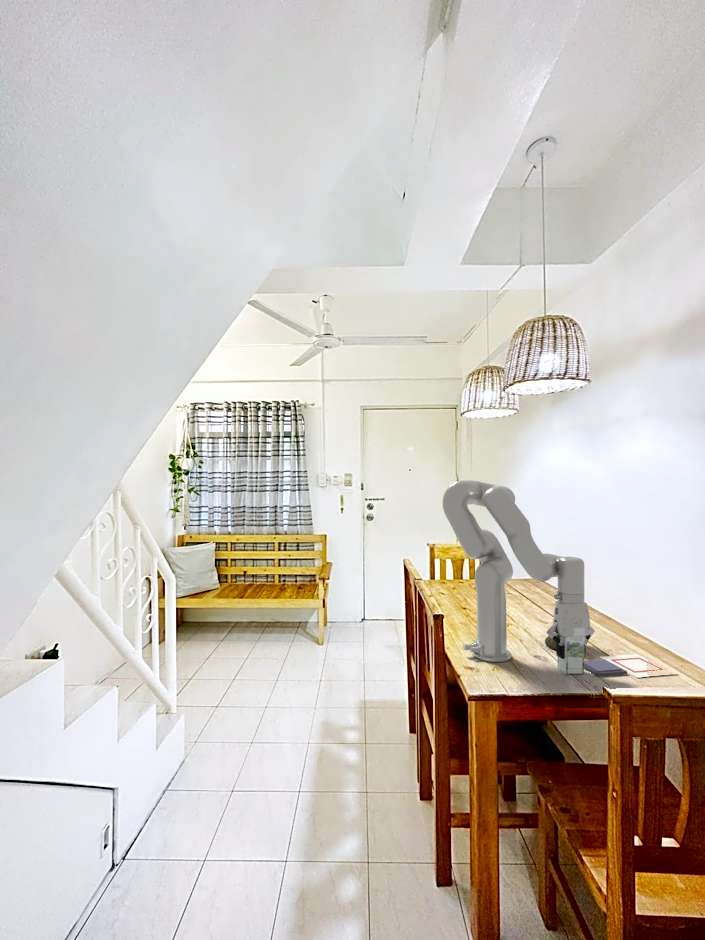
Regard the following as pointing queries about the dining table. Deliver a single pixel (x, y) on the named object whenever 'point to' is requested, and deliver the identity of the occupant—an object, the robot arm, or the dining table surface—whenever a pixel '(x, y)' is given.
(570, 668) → the syrup box
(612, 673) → the ink pad
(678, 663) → the dining table surface
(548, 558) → the robot arm
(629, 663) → the marked sheet
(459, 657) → the dining table surface
